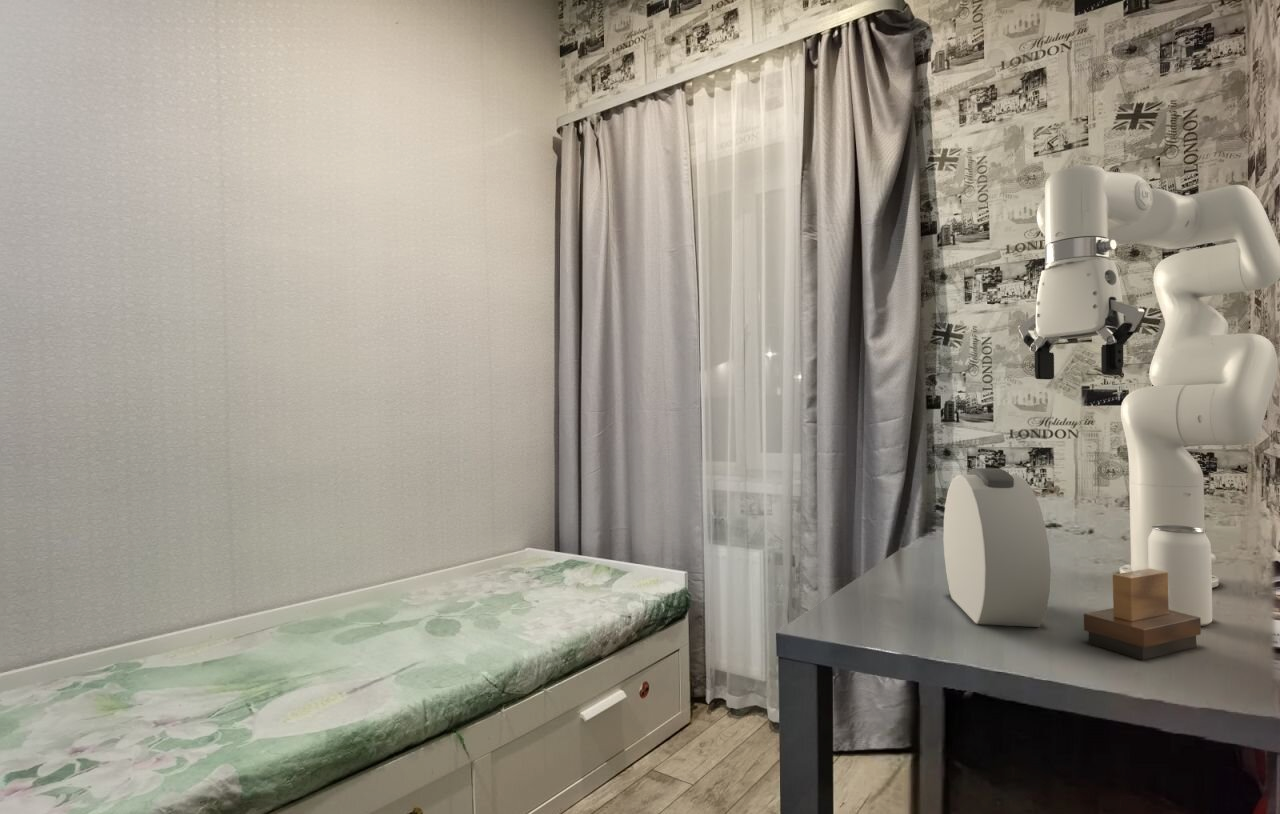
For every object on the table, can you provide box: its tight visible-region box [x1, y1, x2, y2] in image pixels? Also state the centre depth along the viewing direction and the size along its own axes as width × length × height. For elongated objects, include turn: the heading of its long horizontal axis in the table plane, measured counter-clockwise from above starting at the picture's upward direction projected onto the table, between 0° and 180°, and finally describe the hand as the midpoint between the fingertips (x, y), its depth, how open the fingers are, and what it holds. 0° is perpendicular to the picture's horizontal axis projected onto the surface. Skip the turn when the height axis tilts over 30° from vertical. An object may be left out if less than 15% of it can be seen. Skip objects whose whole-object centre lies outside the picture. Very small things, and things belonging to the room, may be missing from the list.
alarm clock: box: [942, 467, 1051, 628], centre depth 92 cm, size 21×8×20 cm, turn 168°
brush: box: [1083, 569, 1202, 661], centre depth 78 cm, size 11×7×8 cm, turn 113°
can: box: [1148, 525, 1213, 627], centre depth 88 cm, size 6×6×12 cm
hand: (1076, 377), depth 94 cm, fingers open, 9 cm apart
